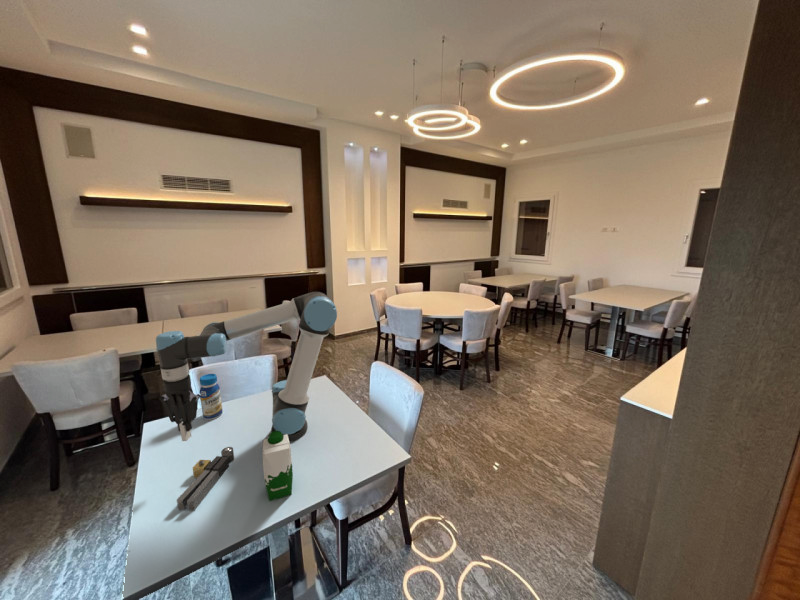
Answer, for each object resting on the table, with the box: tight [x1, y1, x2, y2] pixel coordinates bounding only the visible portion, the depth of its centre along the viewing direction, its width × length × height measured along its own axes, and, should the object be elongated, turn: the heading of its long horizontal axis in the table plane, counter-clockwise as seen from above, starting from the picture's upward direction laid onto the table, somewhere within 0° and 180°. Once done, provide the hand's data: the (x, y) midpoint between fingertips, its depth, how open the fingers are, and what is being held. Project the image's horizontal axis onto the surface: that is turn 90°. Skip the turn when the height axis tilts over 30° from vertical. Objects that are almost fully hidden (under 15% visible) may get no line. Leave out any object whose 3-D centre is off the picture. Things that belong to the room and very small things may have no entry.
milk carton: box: [261, 431, 294, 502], centre depth 104 cm, size 9×9×20 cm
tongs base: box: [187, 446, 235, 511], centre depth 109 cm, size 24×4×5 cm, turn 178°
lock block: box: [192, 459, 212, 479], centre depth 112 cm, size 4×4×5 cm
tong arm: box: [176, 455, 222, 511], centre depth 107 cm, size 19×2×4 cm, turn 175°
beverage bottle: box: [198, 373, 224, 421], centre depth 146 cm, size 8×8×20 cm
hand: (186, 438), depth 110 cm, fingers closed
